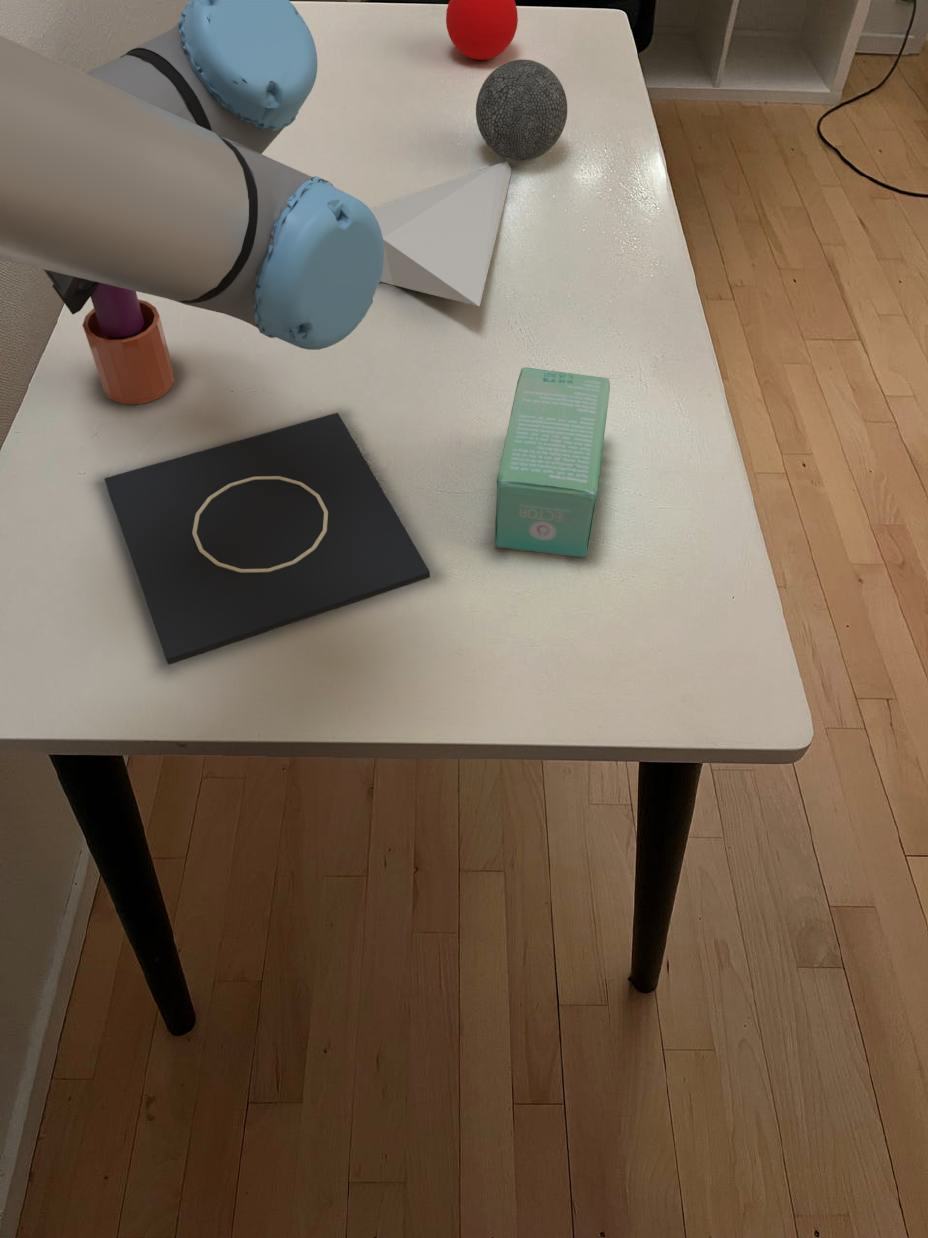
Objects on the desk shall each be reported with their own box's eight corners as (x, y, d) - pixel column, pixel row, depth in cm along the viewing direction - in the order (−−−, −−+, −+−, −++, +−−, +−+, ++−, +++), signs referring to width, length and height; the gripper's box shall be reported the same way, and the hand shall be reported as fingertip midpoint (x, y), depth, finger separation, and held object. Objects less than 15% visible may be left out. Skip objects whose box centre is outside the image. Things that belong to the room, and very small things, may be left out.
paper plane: (610, 200, 114) (615, 163, 110) (478, 339, 98) (479, 300, 95) (410, 139, 122) (408, 102, 118) (258, 258, 106) (252, 220, 103)
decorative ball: (565, 178, 116) (572, 85, 109) (474, 176, 116) (475, 83, 109) (562, 134, 123) (569, 43, 115) (476, 133, 123) (477, 42, 115)
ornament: (485, 35, 140) (486, -50, 132) (530, 58, 135) (535, -28, 127) (431, 54, 136) (430, -33, 128) (477, 78, 132) (478, -9, 124)
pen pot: (111, 412, 91) (91, 349, 86) (96, 370, 95) (76, 308, 90) (182, 393, 93) (166, 330, 88) (164, 353, 96) (148, 291, 91)
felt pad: (168, 664, 74) (166, 658, 74) (105, 483, 86) (103, 477, 85) (430, 576, 79) (430, 570, 79) (338, 417, 91) (337, 411, 90)
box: (491, 552, 81) (495, 480, 75) (514, 436, 89) (519, 364, 84) (587, 564, 80) (598, 492, 75) (600, 446, 89) (611, 374, 83)
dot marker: (109, 354, 88) (74, 240, 80) (100, 330, 90) (64, 217, 82) (151, 343, 89) (121, 229, 81) (141, 320, 91) (110, 207, 83)
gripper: (106, 266, 66) (31, 372, 86) (299, 166, 75) (190, 284, 94) (30, 156, 65) (-29, 290, 84) (236, 66, 73) (139, 207, 92)
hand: (87, 286), depth 89 cm, fingers closed on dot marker, 4 cm apart
